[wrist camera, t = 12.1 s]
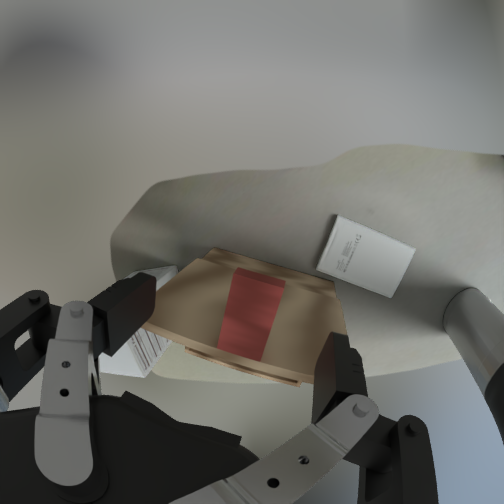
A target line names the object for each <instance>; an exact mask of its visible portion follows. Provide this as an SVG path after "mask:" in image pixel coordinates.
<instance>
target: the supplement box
mask: <svg viewBox="0 0 504 504" xmlns="http://www.w3.org/2000/svg"><path fill="white" fill-rule="evenodd" d="M139 272H144V273H147V274H150V275H152V276H155V277H156V280H157V284H156V291H157V290H158V289H159V288H161V287H162V286H163V285H164V284H165V283H167V282H168V281H169V280H170V279H172V278H173V277H174V276H175V275H177V274H178V273H179V272H178V269H177V266H176V265H173V266H166V267H160V268H154V269H148V270H141V271H135V272H133V273H131V274H130V275H128V276H127V277H125V278H124V279H126V278H131V277H133V276H134V275H136V274H137V273H139ZM171 342H172V341H171V340H169V339H166V338H164V337H161V336H159V335H156V334H154V333H152V332H149V331H147V330H145V329H142V328H140V329H139V330H138V331H137V332H136V333H135V334H134V335H133V336H132V337H131V338H130V339H129V340H128V341H127V342H126V343H125V344H124V345H123V346H122V347H121V348H120V349H119V350H118V351H117V352H116V353H115V354H114V355H113V356H112V357H110V356H108V355H106V354H104V353H103V352H102V353H101V354H100V355H99V360H100V372H105V373H112V374H118V375H127V376H135V377H143V378H145V377H146V376H147V375H148V373H149V372H150V370H151V369H152V368H153V366H154V365H155V364H156V362H157V361H158V360H159V358H160V357H161V356H162V354H163V353H164V351H165V350H166V349H167V347H168V346H169V345H170V343H171Z"/></svg>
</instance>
